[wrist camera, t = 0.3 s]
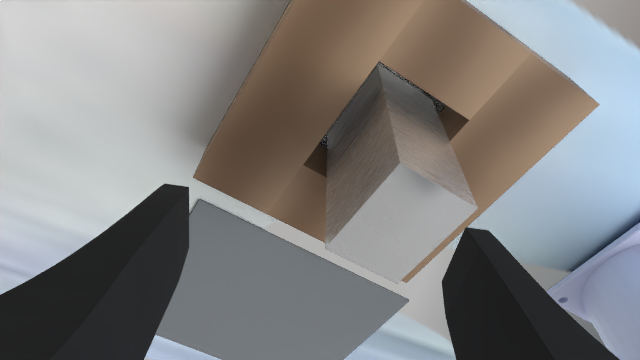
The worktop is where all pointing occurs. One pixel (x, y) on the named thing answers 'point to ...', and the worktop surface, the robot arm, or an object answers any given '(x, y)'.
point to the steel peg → (391, 179)
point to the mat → (268, 296)
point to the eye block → (413, 64)
